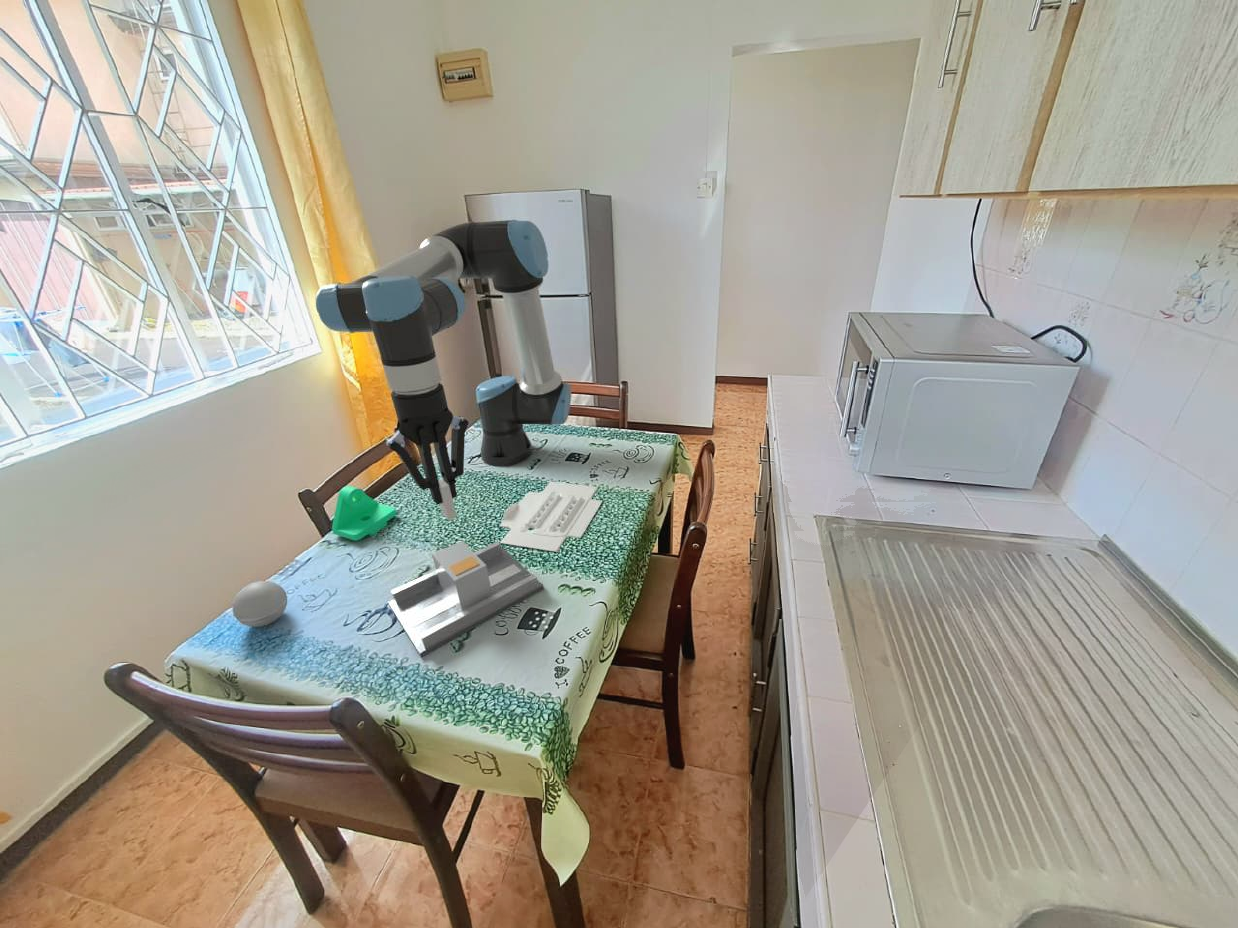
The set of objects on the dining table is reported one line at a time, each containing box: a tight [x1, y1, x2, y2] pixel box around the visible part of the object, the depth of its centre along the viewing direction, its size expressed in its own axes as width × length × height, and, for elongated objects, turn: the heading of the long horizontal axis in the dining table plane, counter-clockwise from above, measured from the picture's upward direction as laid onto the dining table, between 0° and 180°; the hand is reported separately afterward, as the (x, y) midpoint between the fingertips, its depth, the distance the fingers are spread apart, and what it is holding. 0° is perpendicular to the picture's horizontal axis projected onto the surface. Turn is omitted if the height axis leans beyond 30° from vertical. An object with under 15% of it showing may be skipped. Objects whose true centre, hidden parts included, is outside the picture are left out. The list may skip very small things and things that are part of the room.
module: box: [431, 540, 493, 612], centre depth 90 cm, size 6×10×8 cm, turn 40°
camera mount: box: [331, 485, 397, 541], centre depth 113 cm, size 12×8×10 cm, turn 155°
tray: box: [499, 481, 603, 553], centre depth 117 cm, size 20×28×4 cm
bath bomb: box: [232, 580, 288, 628], centre depth 88 cm, size 8×8×8 cm
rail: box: [388, 541, 545, 658], centre depth 92 cm, size 24×16×3 cm, turn 130°
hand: (449, 515), depth 85 cm, fingers closed
